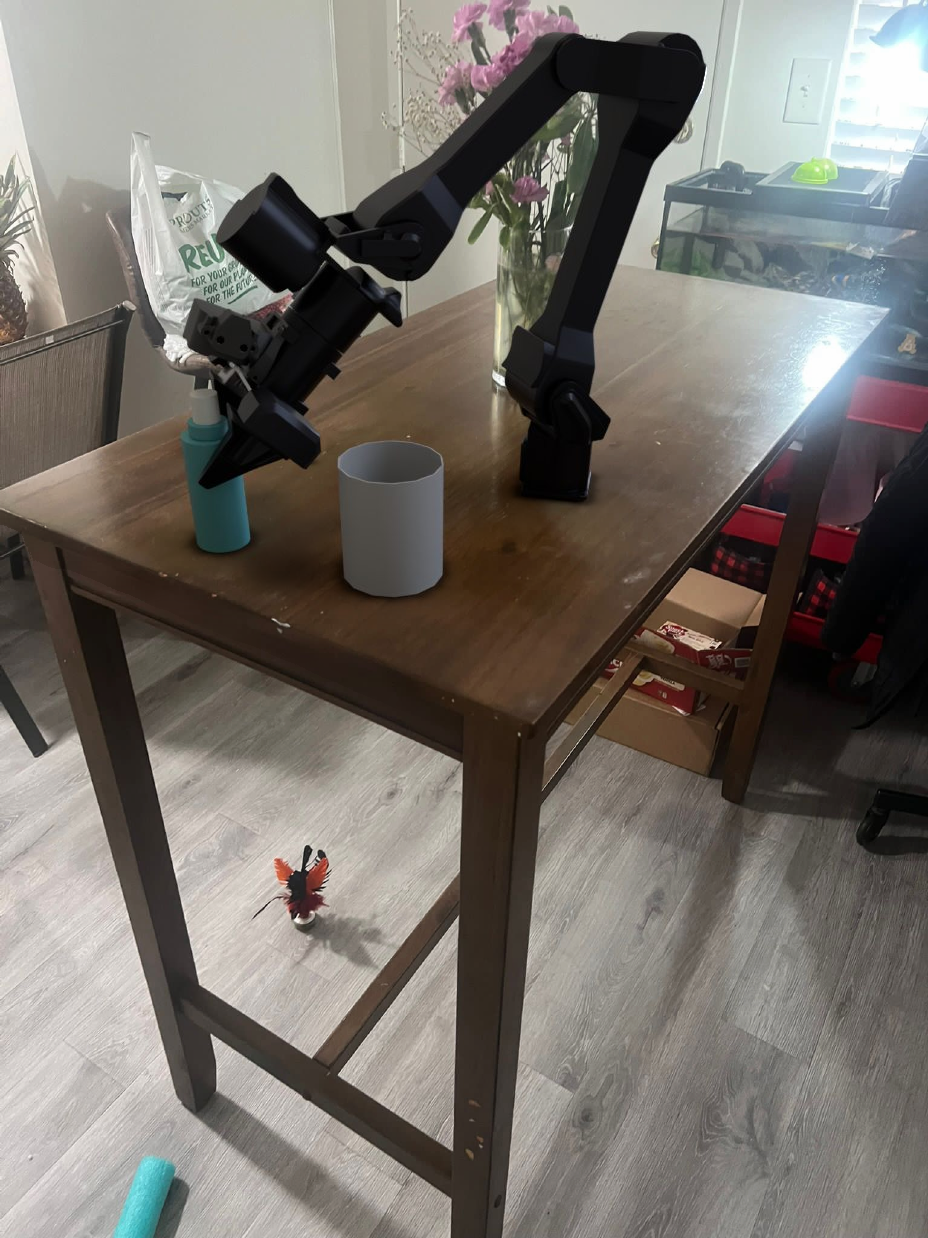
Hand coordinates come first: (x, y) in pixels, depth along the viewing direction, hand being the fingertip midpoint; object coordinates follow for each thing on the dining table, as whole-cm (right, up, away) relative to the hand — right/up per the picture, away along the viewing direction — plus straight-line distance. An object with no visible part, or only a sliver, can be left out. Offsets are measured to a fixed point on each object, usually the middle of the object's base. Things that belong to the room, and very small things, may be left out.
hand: (197, 474), depth 77 cm
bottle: (+1, -5, +4) cm, 7 cm away
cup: (+17, -8, 0) cm, 18 cm away
